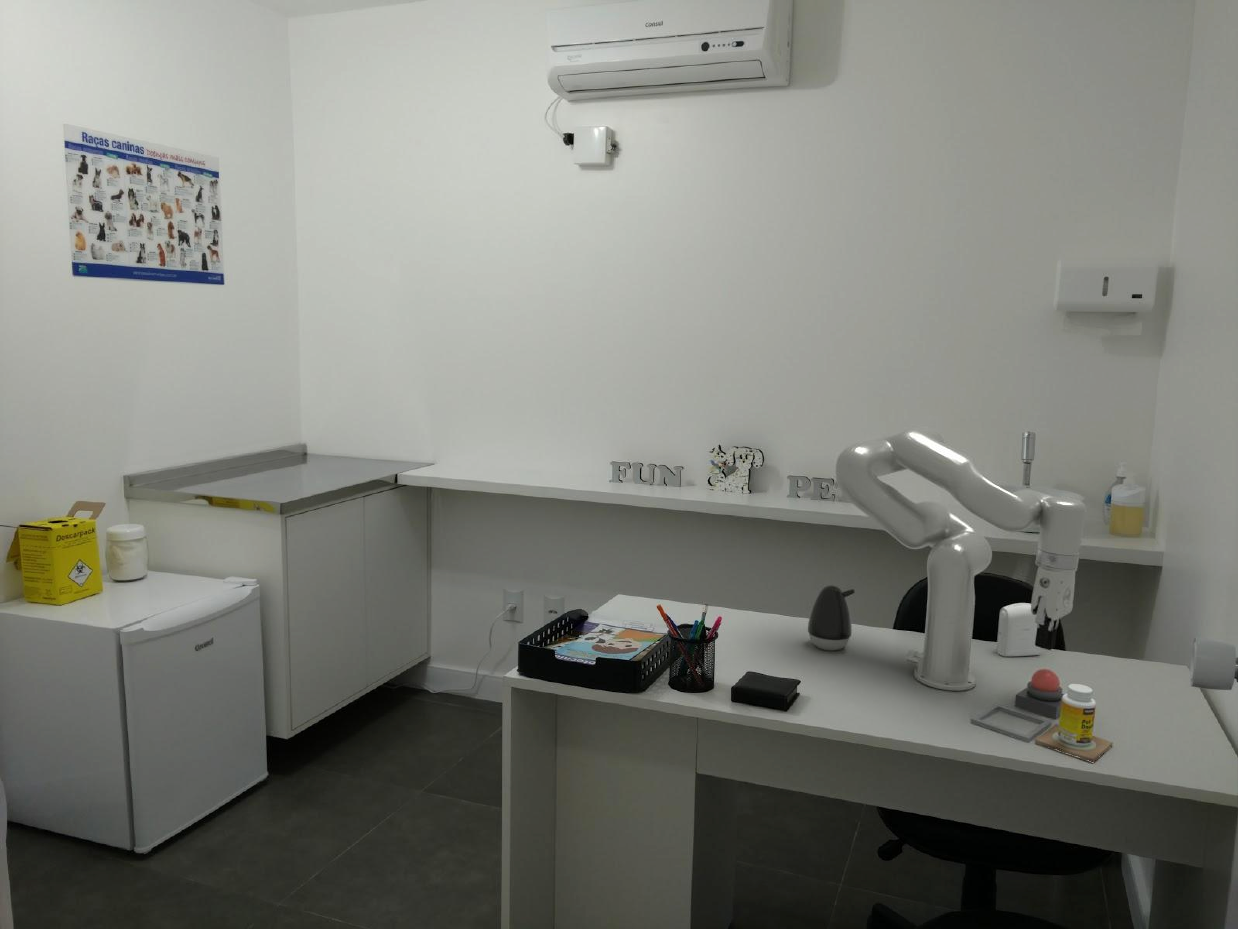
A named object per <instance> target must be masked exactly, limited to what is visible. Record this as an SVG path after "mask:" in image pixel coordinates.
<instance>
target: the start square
mask: <svg viewBox="0 0 1238 929" xmlns="http://www.w3.org/2000/svg"><path fill="white" fill-rule="evenodd" d="M997 711H1000V712H1003V713H1006V712H1007V713H1006V714H1009V715H1012V716H1015V715H1016V716H1015V717H1017V718H1018V717H1019V718H1021V719H1025V720H1028V721H1030V722H1034V723H1036V722H1037V724H1038V725H1037V726H1036V727H1035V728H1033V729H1032V730H1030V731H1029V732H1027V733H1026V734H1024V733H1021V732H1018V731H1015V730H1011V729H1009V728H1006V727H1003V726H1000V725H996V724H995V723H991V722H988V721H985V719H986V718H988V717H989V716H991V715H992V714H994V713H995V712H997ZM970 723H971V724H973V725H976V726H980V727H982V726H983V727H982V728H985V727H986V728H985V729H988V730H990V729H993V730H995V731H994V732H996V731H997V733H999V732H1002V733H1004V734H1003V735H1005V734H1006V736H1008V735H1009V737H1011V736H1013V737H1012V738H1014V737H1016V738H1015V739H1017V738H1018V739H1017V740H1019V739H1021V740H1020V741H1022V740H1023V741H1022V742H1025V741H1026V742H1025V743H1030V742H1032V740H1034V739H1035V738H1037V737H1039V735H1040V734H1041V735H1042V734H1043V733H1044V732H1046V731H1047V729H1050V728H1051V727H1052V723H1053V722H1052V721H1051V720H1049V719H1046V718H1042V717H1038V716H1036V715H1033V714H1031V713H1030V714H1029V713H1027V712H1024V711H1020V710H1018V709H1014V708H1012V707H1008V706H1005V705H1002V704H999V703H996V702H995V703H994V704H992V705H991V706H989V707H987V708H986V709H984V710H982V711H981V712H979V713H978V714H976V715H975V716H972V717H971V719H970ZM1039 723H1040V724H1039ZM993 730H992V731H993ZM1002 733H1001V734H1002Z"/></svg>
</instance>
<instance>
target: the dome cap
mask: <svg viewBox="0 0 1238 929" xmlns="http://www.w3.org/2000/svg"><path fill="white" fill-rule="evenodd" d="M1030 680H1031V681H1028V682H1027V684H1026V685H1027V686H1026V688H1027V693H1028V694H1029V695H1030V696H1032V697H1034V698H1037V699H1041V700H1046V701H1058V700H1060V699H1061V698H1062V694H1063V688H1062V687H1061V686H1060V685H1061V684H1060V679H1059V677H1058V675H1057V674H1056V673H1055V672H1054V671H1052V670H1050V669H1047V668H1043V669H1042V668H1041V669H1038V670H1036V671H1034V673H1033V674H1032V675H1031V679H1030Z"/></svg>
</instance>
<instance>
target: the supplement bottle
mask: <svg viewBox="0 0 1238 929" xmlns="http://www.w3.org/2000/svg"><path fill="white" fill-rule="evenodd" d="M1063 694H1064V695H1063V696H1062V703H1061V712H1060V717H1059V721H1058V722H1059V723H1058V725H1059V730H1058V736H1059V738H1060V739H1061V740H1062V741H1064V742H1066V743H1068V744H1071V745H1076V746H1087V745H1089V744H1090V743H1091V741H1092V736H1093V732H1094V731H1093V730H1094V724H1095V716H1096V708H1097V702H1096V701H1095V699H1094V698H1093V689H1092V688H1091V687H1089V686H1087V685H1084V684H1079V683H1072V684H1069V685H1068V686H1067V692H1066V693H1063Z"/></svg>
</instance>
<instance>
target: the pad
mask: <svg viewBox="0 0 1238 929" xmlns="http://www.w3.org/2000/svg"><path fill="white" fill-rule="evenodd" d="M1058 730H1059V723H1058V724H1057V723H1056V724H1054V725H1053V726H1050V727H1049V728H1048V730H1047V729H1046V730H1045V731H1044V732H1043V733H1041V735H1040V736H1037V737H1036V739H1035V740H1034V741H1035V742H1034V744H1035V743H1037V744H1039V745H1038V746H1040V745H1041V747H1043V746H1046V747H1049V748H1051V749H1050V750H1052V749H1057V750H1059V751H1061V752H1064V753H1068V754H1071V755H1073V756H1078V757H1080V758H1082V759H1084V760H1089V761H1091V762H1094V761H1095V760H1096V761H1098V760H1099V759H1100V758H1099V756H1101V755H1102V754H1103V753H1104V754H1105V753H1107V752H1108V751H1109V750H1110V749H1111V748H1112V747H1113V744H1114V742H1113V741H1111V740H1107V739H1103V738H1101V737H1098V736H1094V735H1092V741H1091V743H1090V744H1089V745H1087V746H1076V745H1071V744H1068V743H1066V742H1064V741H1062V740H1061V739H1060V738H1059V736H1058ZM1037 744H1036V745H1037ZM1111 746H1112V747H1111ZM1046 747H1045V748H1046ZM1110 747H1111V748H1110ZM1049 748H1048V749H1049ZM1108 749H1109V750H1108ZM1107 750H1108V751H1107ZM1061 752H1060V753H1061ZM1064 753H1063V754H1064ZM1104 754H1103V755H1104ZM1103 755H1102V756H1103ZM1102 756H1101V757H1102ZM1098 758H1099V759H1098ZM1097 759H1098V760H1097ZM1084 760H1083V761H1084ZM1096 761H1095V762H1096ZM1095 762H1094V763H1095Z"/></svg>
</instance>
